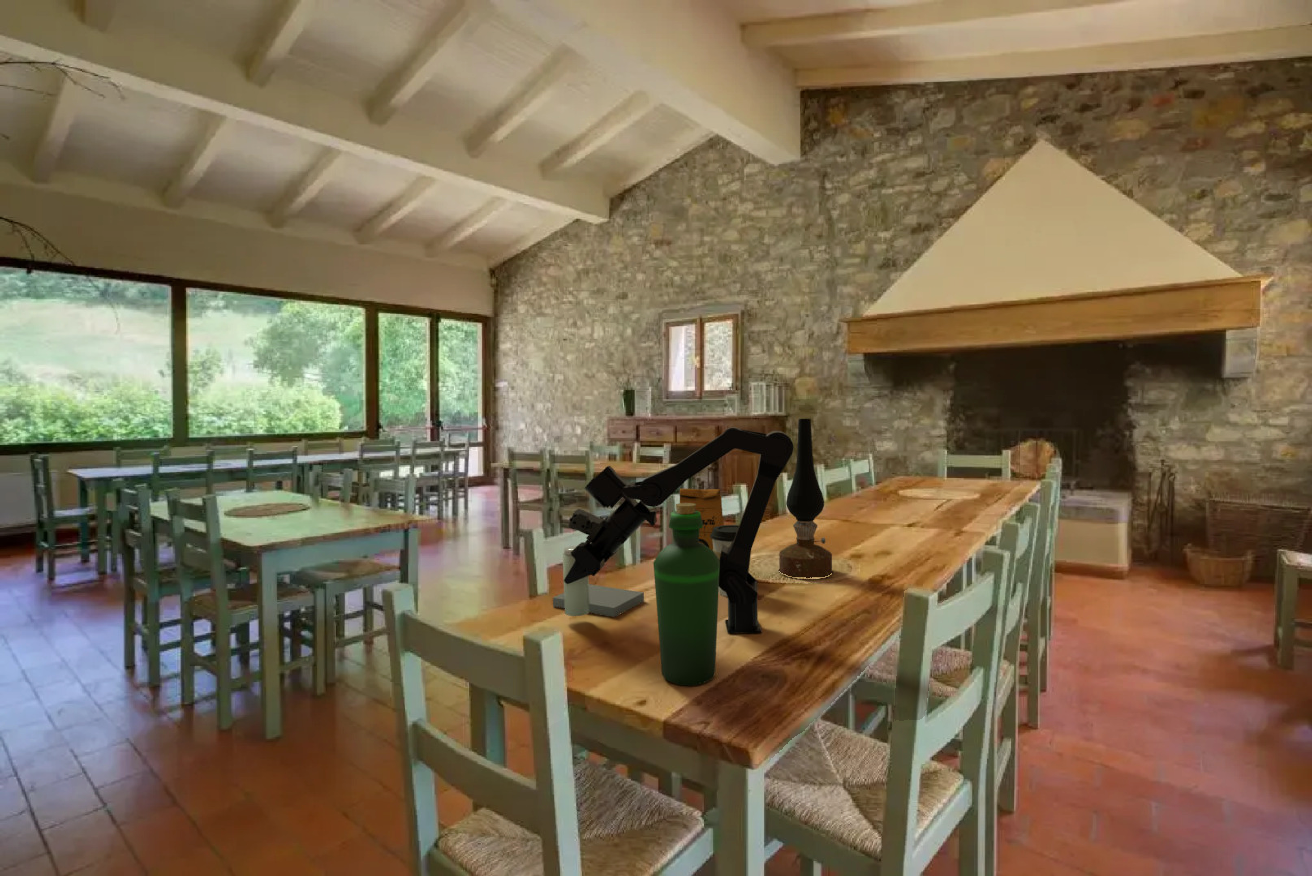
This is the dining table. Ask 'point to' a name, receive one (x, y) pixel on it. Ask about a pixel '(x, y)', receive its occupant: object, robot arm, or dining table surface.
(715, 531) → the coffee cup
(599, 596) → the slate board
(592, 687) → the dining table surface
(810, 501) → the oil lamp
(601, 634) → the dining table surface
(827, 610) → the dining table surface
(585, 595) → the shaker
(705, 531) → the coffee package
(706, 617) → the bottle
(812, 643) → the dining table surface
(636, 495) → the robot arm
